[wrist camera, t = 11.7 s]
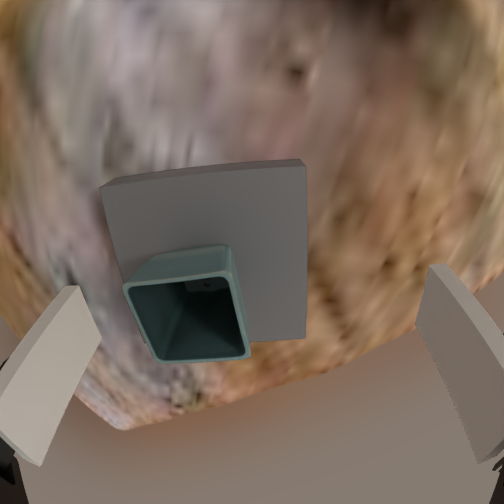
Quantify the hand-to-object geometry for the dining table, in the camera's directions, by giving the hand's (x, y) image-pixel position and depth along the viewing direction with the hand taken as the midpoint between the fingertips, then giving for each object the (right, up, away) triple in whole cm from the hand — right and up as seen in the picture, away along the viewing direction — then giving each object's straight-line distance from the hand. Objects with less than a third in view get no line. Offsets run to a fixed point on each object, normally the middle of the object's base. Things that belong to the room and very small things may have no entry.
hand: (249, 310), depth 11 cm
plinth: (-4, +2, +25) cm, 25 cm away
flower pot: (-5, 0, +21) cm, 22 cm away
